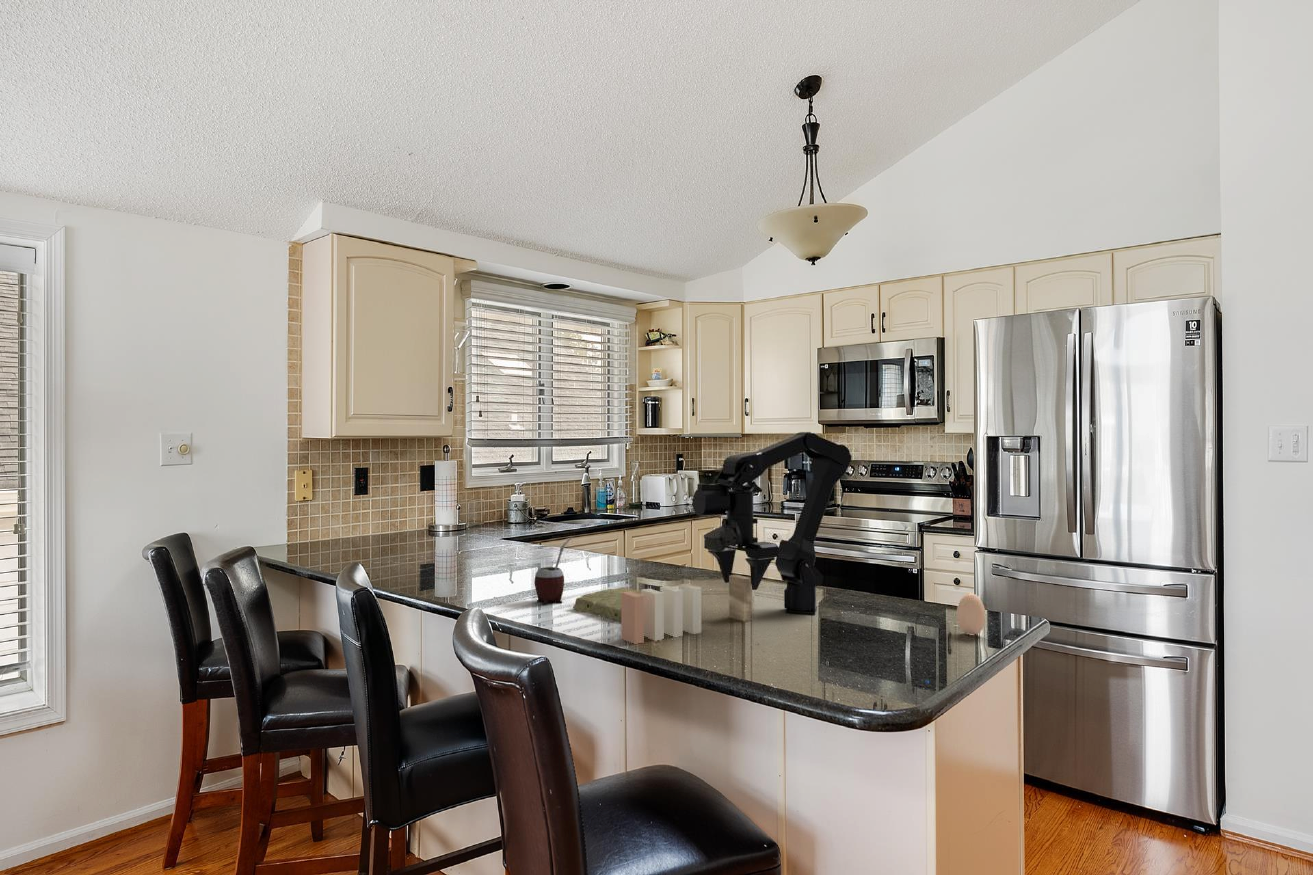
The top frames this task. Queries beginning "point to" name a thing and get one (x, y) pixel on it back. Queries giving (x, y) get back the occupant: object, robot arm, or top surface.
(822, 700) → the top surface
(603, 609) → the olive green slab
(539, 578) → the mate gourd
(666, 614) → the domino
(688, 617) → the domino
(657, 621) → the domino
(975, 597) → the egg
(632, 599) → the domino
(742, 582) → the domino
